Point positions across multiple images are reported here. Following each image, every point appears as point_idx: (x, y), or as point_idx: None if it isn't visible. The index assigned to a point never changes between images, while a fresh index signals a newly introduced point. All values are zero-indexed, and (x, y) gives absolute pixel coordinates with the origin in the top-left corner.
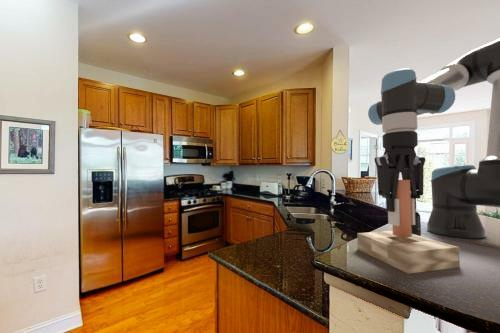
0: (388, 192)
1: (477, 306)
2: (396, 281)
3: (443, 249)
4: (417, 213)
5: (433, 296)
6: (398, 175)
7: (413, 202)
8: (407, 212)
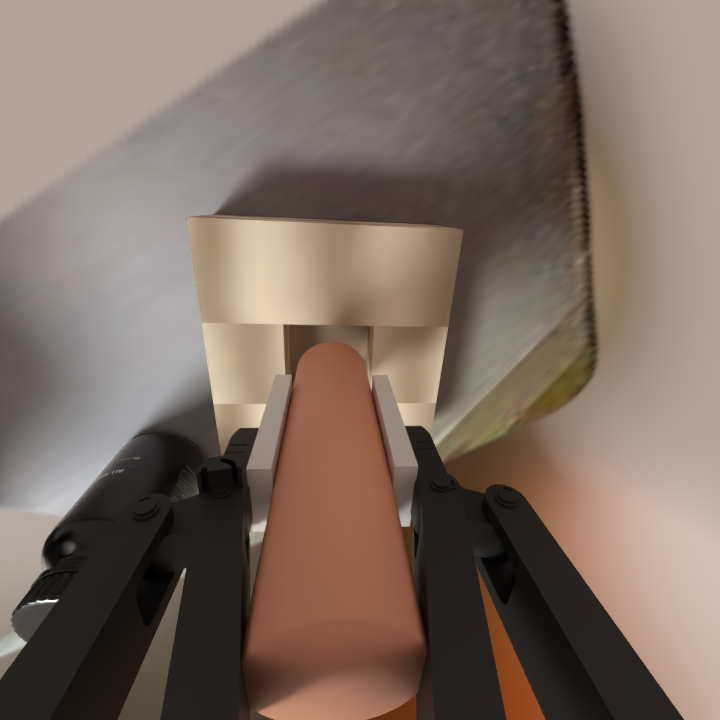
0: (504, 510)
1: None
2: (522, 190)
3: (278, 221)
4: (68, 537)
5: (521, 68)
6: (443, 716)
7: (262, 450)
8: (339, 397)
